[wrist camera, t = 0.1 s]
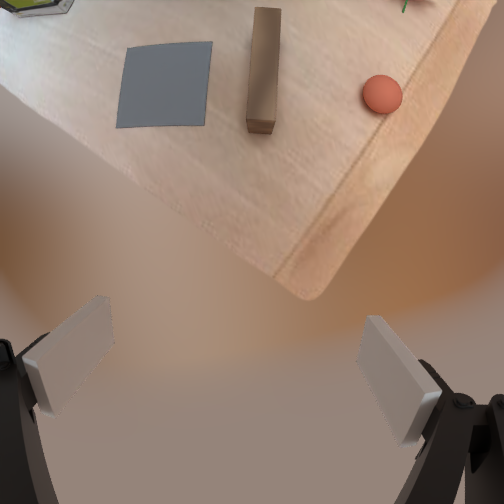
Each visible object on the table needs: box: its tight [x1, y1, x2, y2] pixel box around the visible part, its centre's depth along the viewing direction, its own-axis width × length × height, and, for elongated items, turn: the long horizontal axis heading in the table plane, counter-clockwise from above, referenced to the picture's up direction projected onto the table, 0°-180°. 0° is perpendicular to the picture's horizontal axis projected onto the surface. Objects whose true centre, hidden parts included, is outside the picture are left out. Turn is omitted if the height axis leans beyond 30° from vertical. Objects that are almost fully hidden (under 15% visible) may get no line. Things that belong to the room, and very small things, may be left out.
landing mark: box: [116, 42, 212, 128], centre depth 37 cm, size 13×13×1 cm
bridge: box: [246, 7, 281, 134], centre depth 33 cm, size 3×14×9 cm, turn 176°
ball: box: [363, 75, 402, 114], centre depth 35 cm, size 6×6×6 cm
